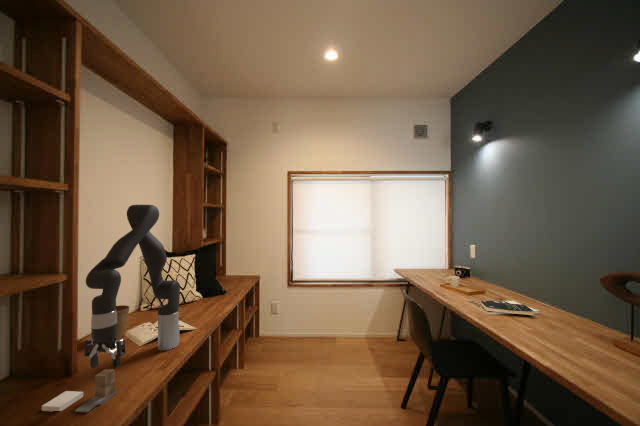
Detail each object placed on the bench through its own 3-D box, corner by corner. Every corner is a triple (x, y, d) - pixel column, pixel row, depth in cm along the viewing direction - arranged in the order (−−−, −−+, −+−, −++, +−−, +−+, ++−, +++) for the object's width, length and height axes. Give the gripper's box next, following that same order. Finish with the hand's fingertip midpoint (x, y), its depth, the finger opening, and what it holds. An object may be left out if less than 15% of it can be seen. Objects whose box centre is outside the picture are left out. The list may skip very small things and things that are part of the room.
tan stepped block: (104, 390, 102) (104, 369, 102) (115, 391, 101) (115, 369, 101) (75, 411, 91) (75, 387, 91) (87, 412, 90) (87, 388, 90)
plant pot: (130, 339, 147) (130, 309, 147) (95, 347, 137) (95, 316, 138) (128, 330, 158) (128, 303, 159) (95, 337, 149) (95, 308, 149)
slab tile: (66, 390, 100) (41, 405, 92) (83, 391, 99) (60, 407, 91) (66, 396, 100) (41, 411, 92) (83, 397, 99) (60, 412, 91)
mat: (102, 391, 102) (102, 390, 102) (117, 392, 101) (117, 391, 101) (84, 404, 95) (84, 403, 95) (100, 405, 94) (100, 404, 94)
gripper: (130, 320, 103) (131, 362, 103) (96, 319, 104) (97, 361, 104) (113, 328, 95) (114, 374, 95) (76, 327, 97) (77, 372, 97)
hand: (105, 367), depth 100 cm, fingers open, 8 cm apart
